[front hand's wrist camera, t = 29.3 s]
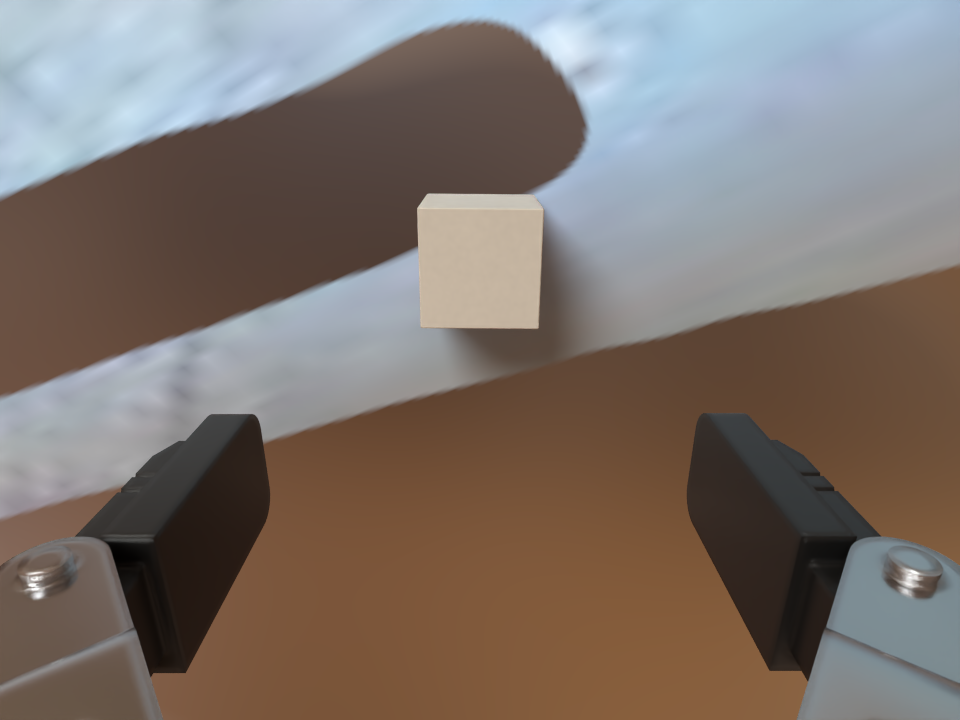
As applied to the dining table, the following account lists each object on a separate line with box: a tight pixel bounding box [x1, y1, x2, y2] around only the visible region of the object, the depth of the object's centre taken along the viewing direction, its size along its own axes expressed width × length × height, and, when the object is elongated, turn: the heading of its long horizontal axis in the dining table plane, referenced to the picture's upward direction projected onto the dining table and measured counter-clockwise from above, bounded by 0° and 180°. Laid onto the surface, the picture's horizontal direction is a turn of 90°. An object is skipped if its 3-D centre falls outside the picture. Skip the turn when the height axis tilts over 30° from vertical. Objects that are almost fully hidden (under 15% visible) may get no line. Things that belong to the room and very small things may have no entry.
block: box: [417, 194, 544, 329], centre depth 28 cm, size 5×5×5 cm
